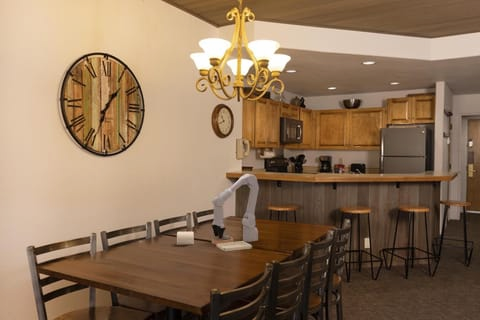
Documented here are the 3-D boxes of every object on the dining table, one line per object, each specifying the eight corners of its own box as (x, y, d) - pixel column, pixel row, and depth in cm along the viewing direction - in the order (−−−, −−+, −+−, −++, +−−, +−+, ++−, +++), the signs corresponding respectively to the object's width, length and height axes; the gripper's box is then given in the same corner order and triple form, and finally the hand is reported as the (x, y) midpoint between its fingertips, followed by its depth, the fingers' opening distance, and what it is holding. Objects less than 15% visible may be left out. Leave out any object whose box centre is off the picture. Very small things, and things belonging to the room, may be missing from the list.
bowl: (227, 240, 254) (227, 235, 254) (235, 245, 242) (235, 239, 242) (209, 242, 248) (209, 237, 248) (216, 247, 237) (216, 241, 237)
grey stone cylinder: (227, 241, 249) (227, 234, 249) (230, 242, 245) (230, 236, 245) (221, 241, 247) (221, 235, 247) (224, 243, 243) (224, 236, 243)
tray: (243, 244, 242) (243, 240, 242) (252, 249, 230) (252, 245, 230) (216, 247, 235) (216, 243, 235) (224, 252, 223) (224, 248, 223)
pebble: (220, 241, 247) (220, 235, 247) (222, 243, 243) (222, 237, 243) (213, 242, 245) (213, 236, 245) (216, 244, 241) (216, 237, 241)
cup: (193, 242, 237) (176, 243, 236) (193, 248, 248) (177, 248, 247) (193, 229, 241) (177, 230, 240) (193, 235, 252) (178, 235, 251)
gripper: (208, 214, 249) (208, 235, 249) (216, 218, 236) (216, 240, 236) (218, 213, 252) (218, 234, 252) (227, 217, 238) (227, 239, 239)
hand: (218, 237), depth 244 cm, fingers open, 7 cm apart
